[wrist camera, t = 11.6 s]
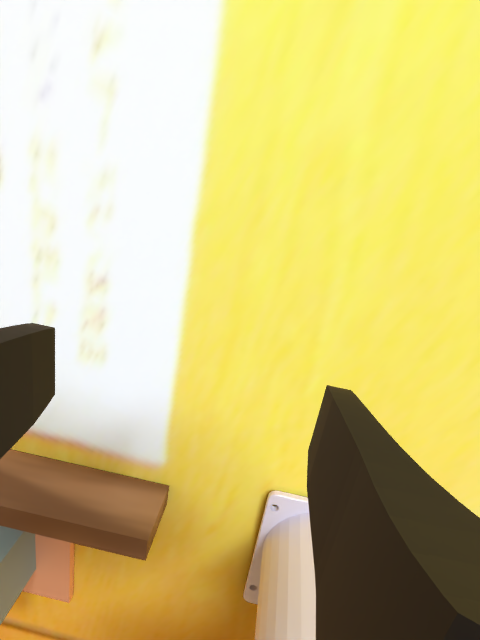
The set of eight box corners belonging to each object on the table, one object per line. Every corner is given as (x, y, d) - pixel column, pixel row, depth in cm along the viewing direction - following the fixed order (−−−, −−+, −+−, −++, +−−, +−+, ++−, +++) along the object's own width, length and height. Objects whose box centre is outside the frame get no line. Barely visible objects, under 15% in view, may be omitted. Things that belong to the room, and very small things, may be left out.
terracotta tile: (73, 594, 31) (69, 602, 30) (-55, 563, 31) (-61, 570, 31) (75, 491, 27) (71, 498, 26) (-70, 458, 27) (-77, 464, 27)
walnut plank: (166, 503, 26) (145, 560, 22) (-100, 442, 27) (-162, 486, 24) (169, 485, 26) (147, 540, 22) (-103, 423, 27) (-167, 465, 23)
